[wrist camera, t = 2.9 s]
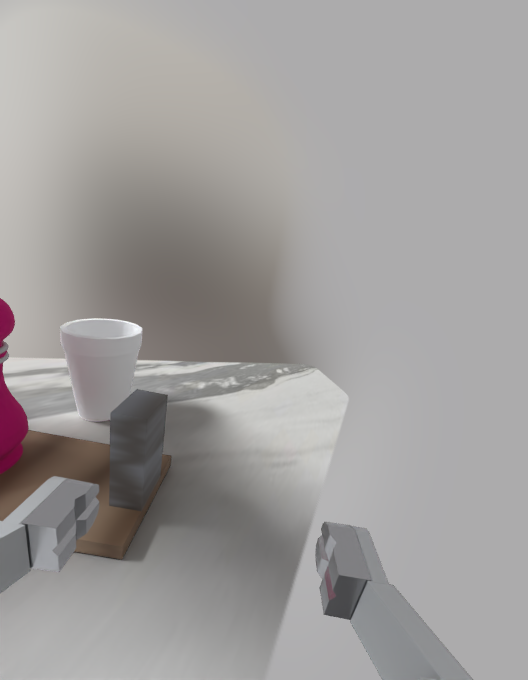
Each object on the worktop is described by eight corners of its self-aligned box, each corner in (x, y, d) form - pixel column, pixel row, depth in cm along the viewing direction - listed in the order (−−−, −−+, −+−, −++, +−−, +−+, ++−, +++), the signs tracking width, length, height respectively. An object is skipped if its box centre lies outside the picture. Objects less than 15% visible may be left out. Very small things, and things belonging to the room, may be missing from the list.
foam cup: (98, 388, 42) (98, 315, 38) (149, 399, 42) (154, 327, 38) (45, 420, 33) (39, 328, 29) (111, 435, 33) (112, 344, 29)
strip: (-228, 500, 19) (-293, 369, 16) (-63, 424, 29) (-83, 332, 26) (122, 559, 20) (126, 444, 17) (170, 465, 30) (178, 381, 27)
